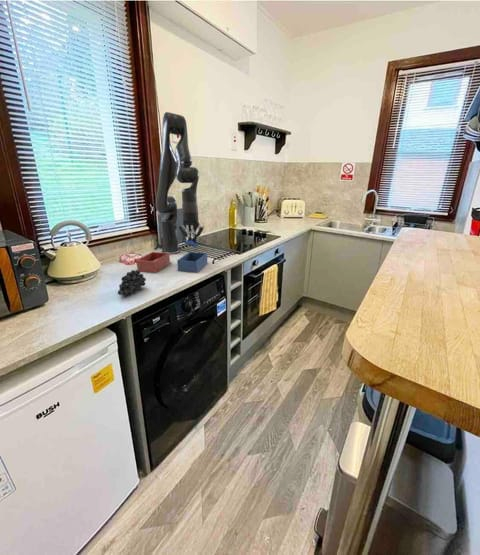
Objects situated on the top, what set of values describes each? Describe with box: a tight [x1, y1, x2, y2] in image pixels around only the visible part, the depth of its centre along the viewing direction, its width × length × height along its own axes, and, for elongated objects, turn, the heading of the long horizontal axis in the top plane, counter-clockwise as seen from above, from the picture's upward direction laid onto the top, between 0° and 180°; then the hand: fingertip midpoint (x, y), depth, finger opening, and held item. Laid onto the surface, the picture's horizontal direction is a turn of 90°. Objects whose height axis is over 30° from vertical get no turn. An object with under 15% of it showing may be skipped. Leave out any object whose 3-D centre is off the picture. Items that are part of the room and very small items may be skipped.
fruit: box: [117, 269, 147, 298], centre depth 113 cm, size 9×8×15 cm
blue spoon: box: [183, 240, 199, 249], centre depth 140 cm, size 11×4×3 cm, turn 166°
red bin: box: [135, 251, 171, 273], centre depth 143 cm, size 10×15×6 cm
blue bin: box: [176, 251, 208, 273], centre depth 143 cm, size 10×15×6 cm
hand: (192, 244), depth 141 cm, fingers closed on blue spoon, 1 cm apart
